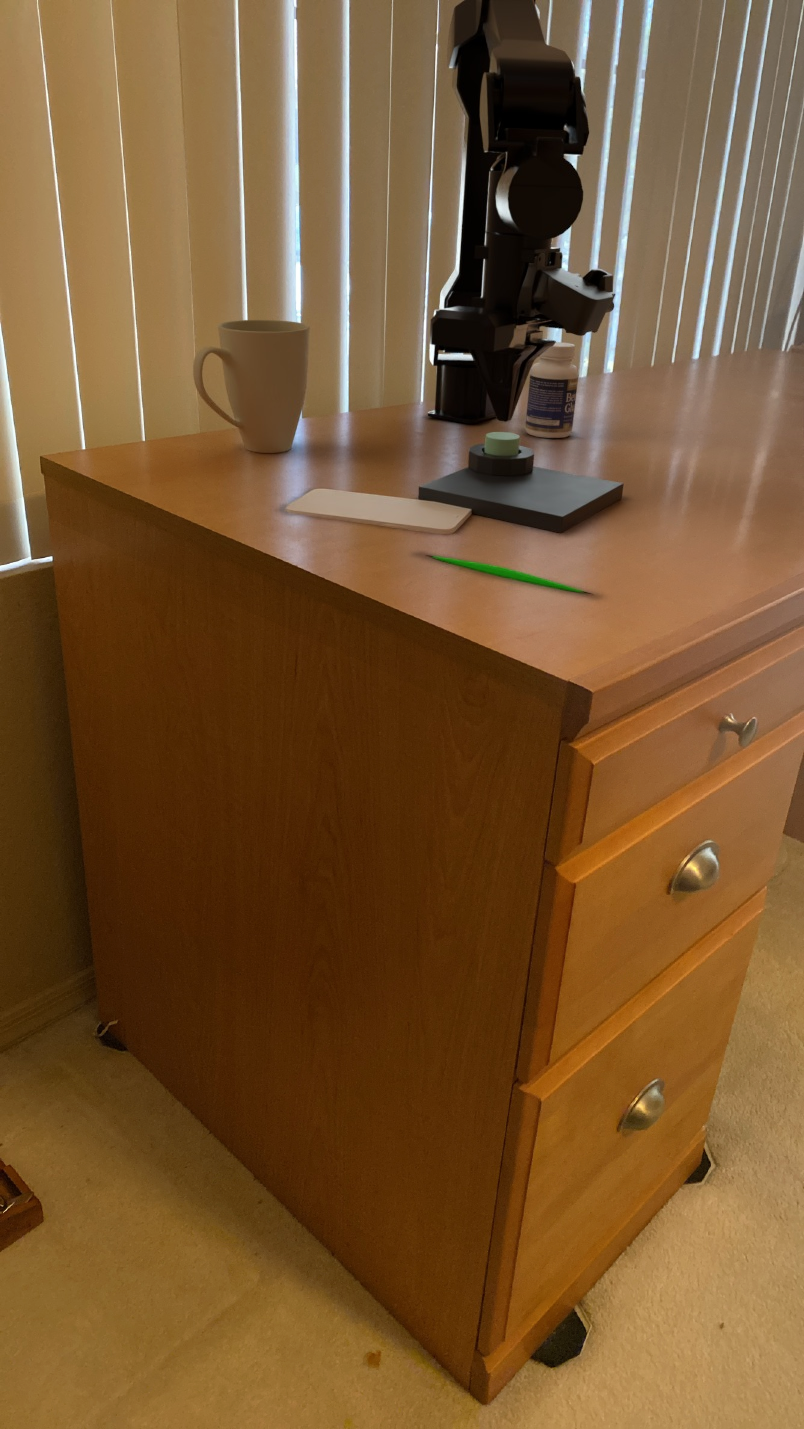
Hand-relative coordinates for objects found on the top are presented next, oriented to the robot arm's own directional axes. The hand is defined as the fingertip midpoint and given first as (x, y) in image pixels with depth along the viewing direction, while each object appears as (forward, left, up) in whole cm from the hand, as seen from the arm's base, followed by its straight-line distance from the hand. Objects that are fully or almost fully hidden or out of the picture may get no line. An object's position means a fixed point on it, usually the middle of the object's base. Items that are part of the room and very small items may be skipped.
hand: (504, 420), depth 91 cm
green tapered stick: (+12, -22, -6) cm, 26 cm away
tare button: (0, 0, -3) cm, 3 cm away
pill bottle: (-6, +22, -6) cm, 24 cm away
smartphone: (-4, -15, -6) cm, 17 cm away
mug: (-26, -5, -6) cm, 27 cm away
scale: (+4, -4, -6) cm, 8 cm away
